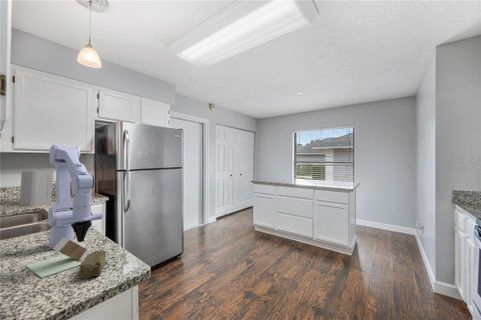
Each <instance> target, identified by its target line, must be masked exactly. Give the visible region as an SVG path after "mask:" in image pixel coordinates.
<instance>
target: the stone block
mask: <svg viewBox="0 0 481 320" xmlns="http://www.w3.org/2000/svg"><path fill="white" fill-rule="evenodd" d="M106 256H107V251H106V250H99V251H92V252H90V253H87V255H86V256H85V258H84V260H83V261H82V262H80V263H81V265H80V266H79V279H80V280H81V279H84V280H88V279H92V278H93V277H99V276H100V275H101V274H102V272H103V269H104V267H105V264H106V258H107V257H106Z"/></svg>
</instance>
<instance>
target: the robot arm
mask: <svg viewBox="0 0 481 320" xmlns="http://www.w3.org/2000/svg"><path fill="white" fill-rule="evenodd" d="M80 156H81V148H80V146H76V145H75V146H73V145H72V146H70V145H59V144H57V145H56V144H52V145H51V146H50V149H49V164H50V165H51V166H53V167H54V168H55V182H56V183H55V185H56V187H55V188H56V203H55V204H53V205H52V206H50V208H49V209H48V215H47V222H48V225H49V226H50V230H49V238H48V239H49V240H48V243H46V245H45V246H47V247H48V248H50V249H53V248H54V247H55V246H56V245H57V244H58V243H59V241H60V240H61V239H62V238H63V237H65V238H67V239H69V240H71V241H73V242H74V234H75V237H76V241H77V242H78V243H82V242H84V241H85V238H86V235H87V232H88V231H89V230H88V229H89V227H90V226H91V224H92V225H93V221H96V220H103V219H104V218H103V215H104V214H102V213H95V214H94V213H93V214H92V215H91V213H92V212H91V210H92V205H91V202H92V194H93V193H92V192H93V189H94V188H95V186H96V179H95V175H94V174H93V173H92V174H91V173H89V172H88V170H87V168H86V166H85V165H84V164H83V163H81V161H80ZM70 178H71V181H70ZM71 194H72V196H73V197H72V199H71ZM71 200H72V201H71ZM90 221H92V222H90ZM77 242H75V243H76V244H78V243H77ZM53 250H54V249H53Z"/></svg>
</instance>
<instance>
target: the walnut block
mask: <svg viewBox="0 0 481 320" xmlns="http://www.w3.org/2000/svg"><path fill="white" fill-rule="evenodd" d="M76 243H77V242H74V240H73V241H71V240H69V239H67V238H65V237H63V238H62V239H61V240H60V241H59V243H58V244H57V245H56V246H55V247H54V248H53V250H54V251H57V252H58V253H60V254H62V255H66V256H68V257H69V258H71V259H73V260H75V261H77V262H79V260H80V259H81V258H82V257H83V256H84V254H85V253H86V252H87V251H88V249H87V248H85V247H84V246H81V244H79V243H77V244H76Z"/></svg>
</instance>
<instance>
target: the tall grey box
mask: <svg viewBox="0 0 481 320" xmlns="http://www.w3.org/2000/svg"><path fill="white" fill-rule="evenodd" d="M20 174H21V179H20V195H19V206H23V207H37V205H39V206H42V205H41V204H44V205H48V204H47V203H50V204H52V195H53V194H52V193H53V192H52V191H53V175H54V171H53V170H21V173H20Z"/></svg>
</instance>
